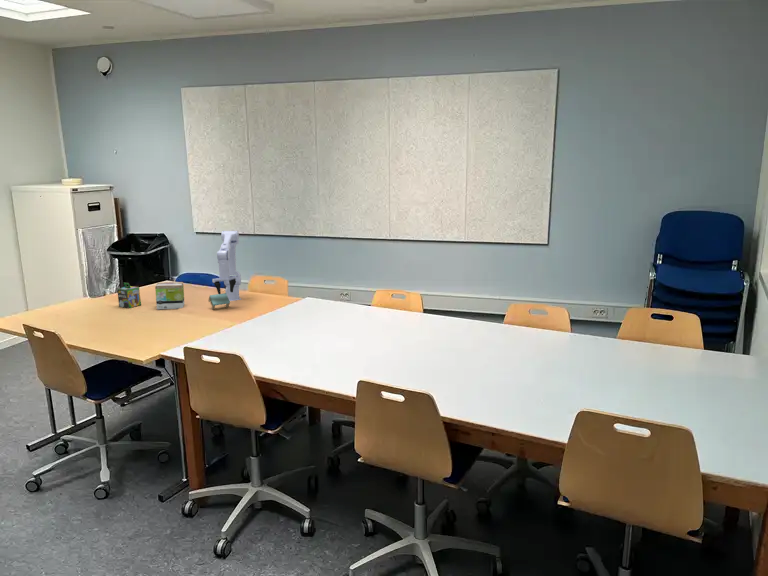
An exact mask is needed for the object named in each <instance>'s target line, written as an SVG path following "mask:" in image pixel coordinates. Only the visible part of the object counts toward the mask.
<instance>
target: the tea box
mask: <svg viewBox="0 0 768 576" xmlns="http://www.w3.org/2000/svg"><path fill="white" fill-rule="evenodd" d="M154 288H155V301H156V302H155V305H156V310H172V309H173V310H174V309H176V310H178V309H183V308H184V306H185V291H184V290H185V289H184V288H185V287H184V282H183V281H175V282H174V281H173V282H172V281H171V282H170V281H169V282H157V283H156V284H155V286H154Z"/></svg>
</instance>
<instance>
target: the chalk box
mask: <svg viewBox="0 0 768 576" xmlns="http://www.w3.org/2000/svg"><path fill="white" fill-rule="evenodd" d="M123 285H124V286H123V287H120V288H119V287H118V288H117V289H116V290H117V299H118V301H117V302H118V307H119V308H124V309H133V308H135V307H138V306H141V305H142V301H141V295H140V294H141V292H140V287H139V286H131V285H130V283H129V282H123ZM127 285H128V286H127Z"/></svg>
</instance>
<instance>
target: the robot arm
mask: <svg viewBox="0 0 768 576" xmlns="http://www.w3.org/2000/svg"><path fill="white" fill-rule="evenodd" d="M220 236H221V240H222V243H221V245H220V247H219V250H217V252H216V258H217V263H218V274H219V275H218V276H219V277H216V278H212V279H211V280H212V283H213V285H214V286H215V288H216V292H217V294H222V293H221V292H222V291H221V282H223V283H224V285H225V289H224V290H225V291H224V292H225V293H226V294H227V296H228V299H229V301H230V302H233V301H239V300H242V298H241V297H240V286H241V285H242V277H241V273H240V272H239V271H237V262H236V261H237V257H236V256H237V255H236V246H237V245H239V242H240V239H239V238H240V237H239V236H240V234H239V232H238V230H222V231H221V234H220Z"/></svg>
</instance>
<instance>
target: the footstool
mask: <svg viewBox="0 0 768 576" xmlns="http://www.w3.org/2000/svg"><path fill="white" fill-rule="evenodd" d="M208 303H210V305H211V310H212V311H213V310H215V308H216V306H220V305H225V308H229V306H230V303H231V301H229V299H228V296H227V294H226V292H223V293H221V294H218V293H217V294H209V297H208Z"/></svg>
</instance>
